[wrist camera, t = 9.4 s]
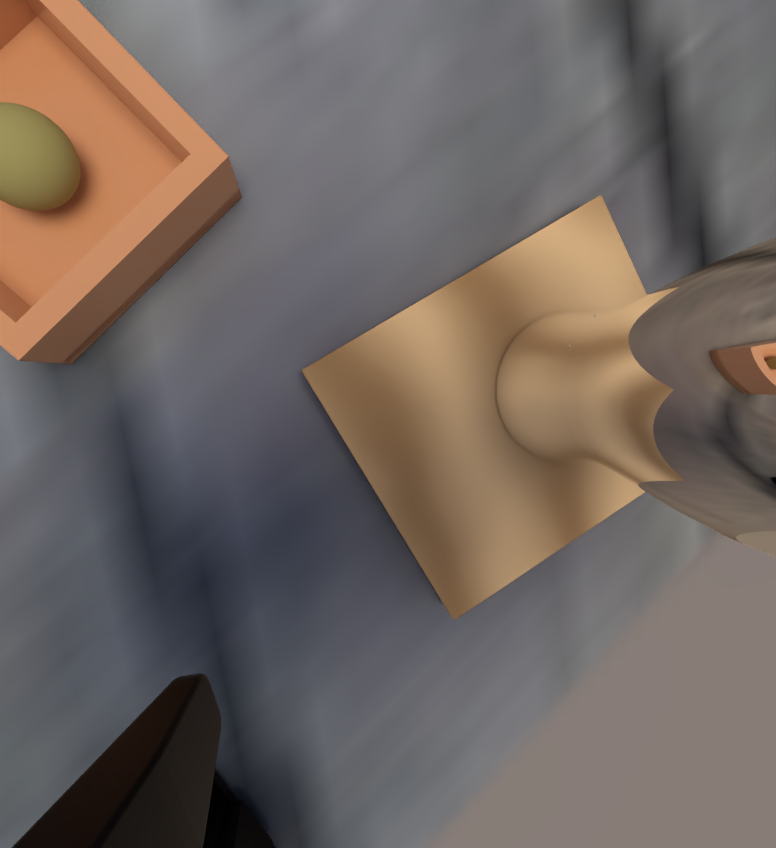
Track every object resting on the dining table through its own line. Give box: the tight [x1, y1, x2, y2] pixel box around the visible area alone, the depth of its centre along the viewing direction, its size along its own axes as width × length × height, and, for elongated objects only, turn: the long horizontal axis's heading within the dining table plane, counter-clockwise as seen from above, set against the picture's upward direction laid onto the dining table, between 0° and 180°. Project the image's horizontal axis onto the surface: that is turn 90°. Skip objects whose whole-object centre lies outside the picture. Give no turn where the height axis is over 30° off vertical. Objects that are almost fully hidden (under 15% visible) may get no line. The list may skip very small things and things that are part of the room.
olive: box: [0, 102, 80, 211], centre depth 15 cm, size 3×3×3 cm
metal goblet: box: [496, 238, 776, 557], centre depth 13 cm, size 7×7×15 cm
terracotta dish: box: [0, 0, 242, 364], centre depth 16 cm, size 9×9×4 cm
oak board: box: [301, 195, 647, 620], centre depth 21 cm, size 14×12×2 cm
